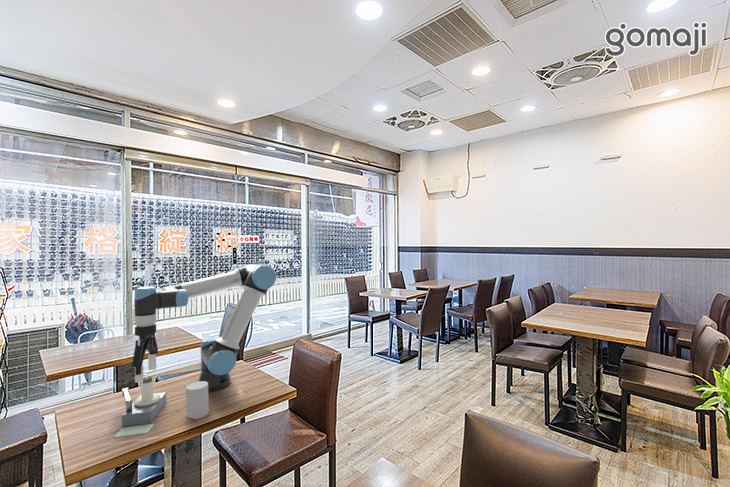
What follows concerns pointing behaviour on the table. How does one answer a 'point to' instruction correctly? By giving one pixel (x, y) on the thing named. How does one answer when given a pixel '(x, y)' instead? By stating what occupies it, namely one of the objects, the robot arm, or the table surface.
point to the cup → (197, 399)
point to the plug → (147, 394)
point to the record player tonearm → (127, 400)
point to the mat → (134, 430)
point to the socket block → (143, 412)
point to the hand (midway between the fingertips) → (146, 375)
